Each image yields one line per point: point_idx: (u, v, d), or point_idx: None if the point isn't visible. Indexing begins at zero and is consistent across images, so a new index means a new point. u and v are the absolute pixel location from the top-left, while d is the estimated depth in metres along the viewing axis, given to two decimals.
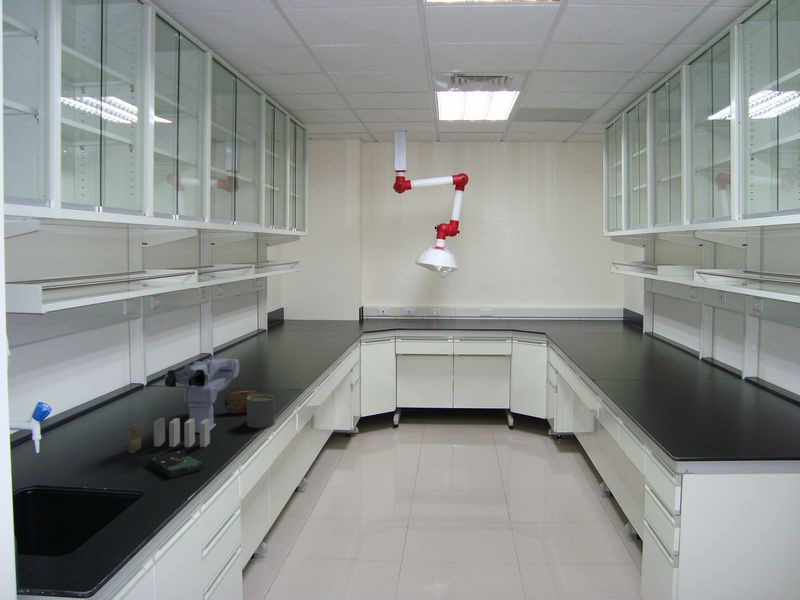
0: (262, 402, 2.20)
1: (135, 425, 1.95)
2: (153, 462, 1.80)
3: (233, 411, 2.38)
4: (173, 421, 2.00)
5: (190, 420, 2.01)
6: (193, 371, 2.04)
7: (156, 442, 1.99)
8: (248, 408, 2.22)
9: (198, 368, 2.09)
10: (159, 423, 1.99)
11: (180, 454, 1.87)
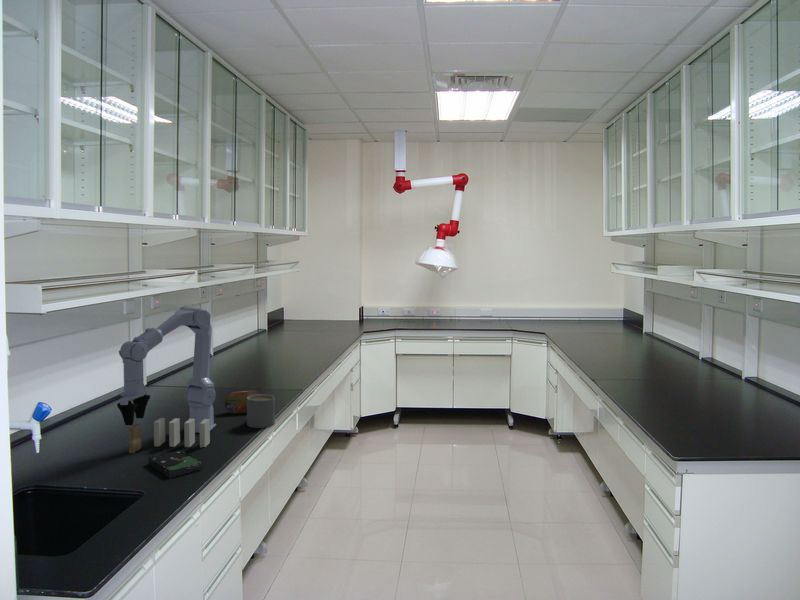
0: (262, 402, 2.20)
1: (135, 425, 1.95)
2: (153, 462, 1.80)
3: (233, 411, 2.38)
4: (173, 421, 2.00)
5: (190, 420, 2.01)
6: None
7: (156, 442, 1.99)
8: (248, 408, 2.22)
9: (124, 381, 1.91)
10: (159, 423, 1.99)
11: (180, 454, 1.87)
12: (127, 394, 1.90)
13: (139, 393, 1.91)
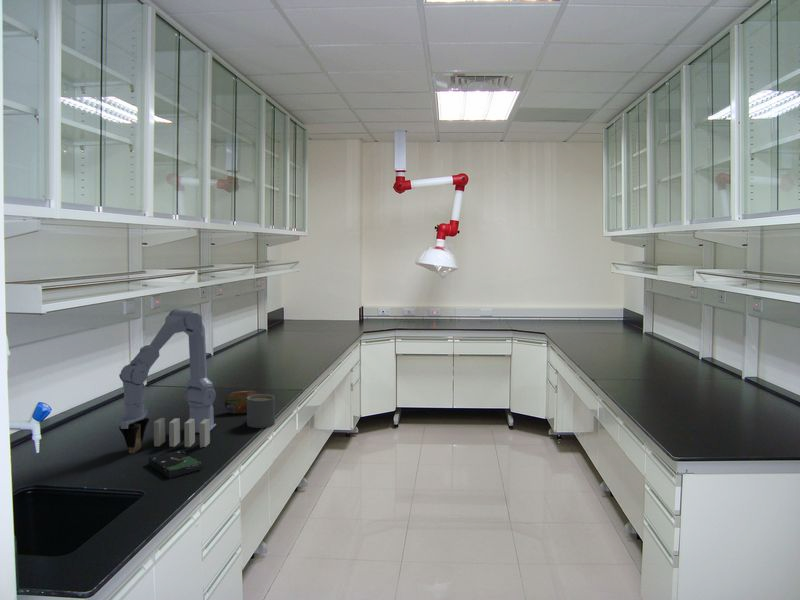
0: (262, 402, 2.20)
1: (135, 425, 1.95)
2: (153, 462, 1.80)
3: (233, 411, 2.38)
4: (173, 421, 2.00)
5: (190, 420, 2.01)
6: None
7: (156, 442, 1.99)
8: (248, 408, 2.22)
9: (124, 405, 1.91)
10: (159, 423, 1.99)
11: (180, 454, 1.87)
12: (127, 417, 1.91)
13: (139, 416, 1.92)
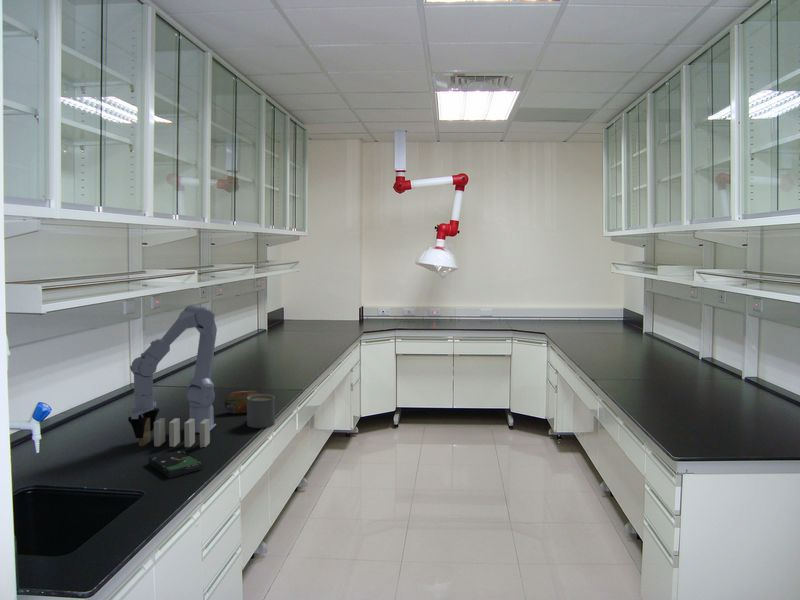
0: (262, 402, 2.20)
1: None
2: (153, 462, 1.81)
3: (233, 411, 2.38)
4: (173, 421, 2.00)
5: (190, 420, 2.01)
6: None
7: (156, 442, 1.99)
8: (248, 408, 2.22)
9: (134, 396, 1.98)
10: (159, 423, 1.99)
11: (180, 454, 1.87)
12: (137, 408, 1.98)
13: (149, 407, 1.99)
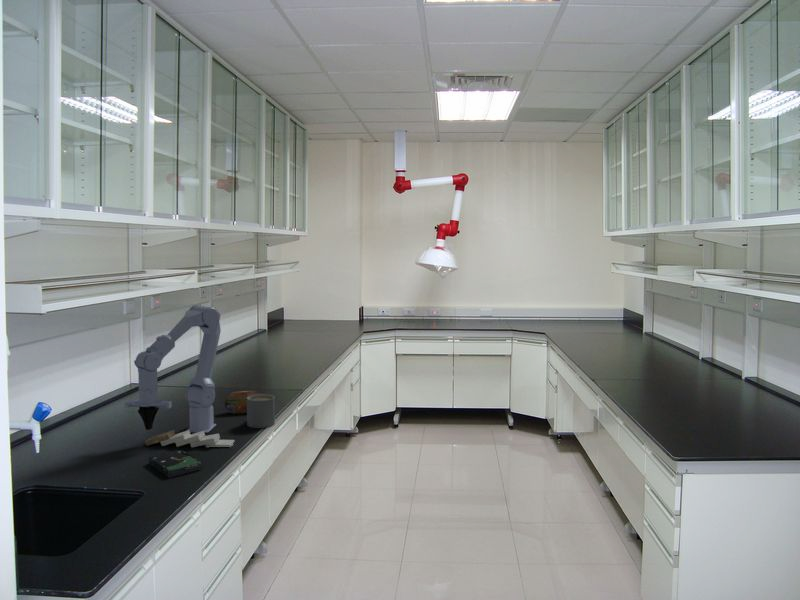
0: (262, 402, 2.20)
1: (172, 433, 2.02)
2: (153, 461, 1.81)
3: (233, 411, 2.38)
4: (200, 436, 2.00)
5: (217, 437, 2.01)
6: None
7: (164, 442, 1.99)
8: (248, 408, 2.22)
9: (151, 391, 1.98)
10: (183, 439, 1.99)
11: (181, 454, 1.87)
12: (155, 401, 1.99)
13: None
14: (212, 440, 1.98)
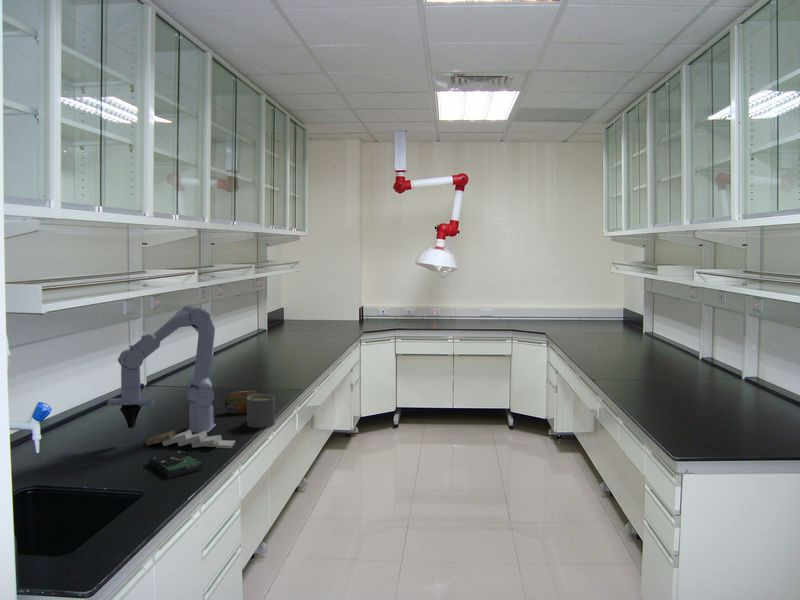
0: (262, 402, 2.20)
1: (173, 433, 2.02)
2: (153, 461, 1.81)
3: (233, 411, 2.38)
4: (201, 436, 1.99)
5: (218, 439, 1.99)
6: None
7: (166, 442, 1.99)
8: (248, 408, 2.22)
9: (133, 389, 1.98)
10: (185, 438, 1.99)
11: (181, 454, 1.87)
12: (138, 399, 1.99)
13: None
14: (212, 442, 1.97)
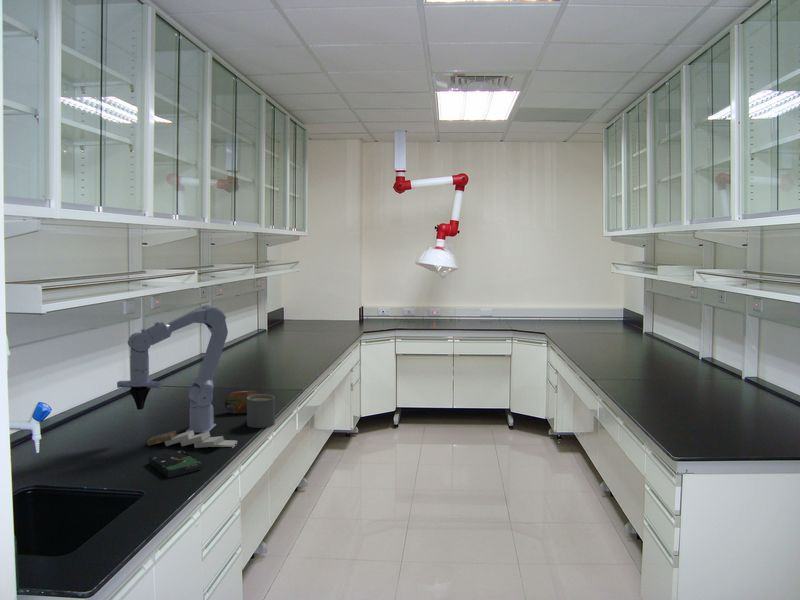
0: (262, 402, 2.20)
1: (174, 434, 2.02)
2: (153, 461, 1.81)
3: (233, 411, 2.38)
4: (204, 437, 1.99)
5: (219, 440, 1.98)
6: None
7: (168, 442, 1.99)
8: (248, 408, 2.22)
9: (142, 371, 2.01)
10: (188, 438, 2.00)
11: (181, 454, 1.87)
12: (147, 382, 2.03)
13: None
14: (212, 443, 1.95)
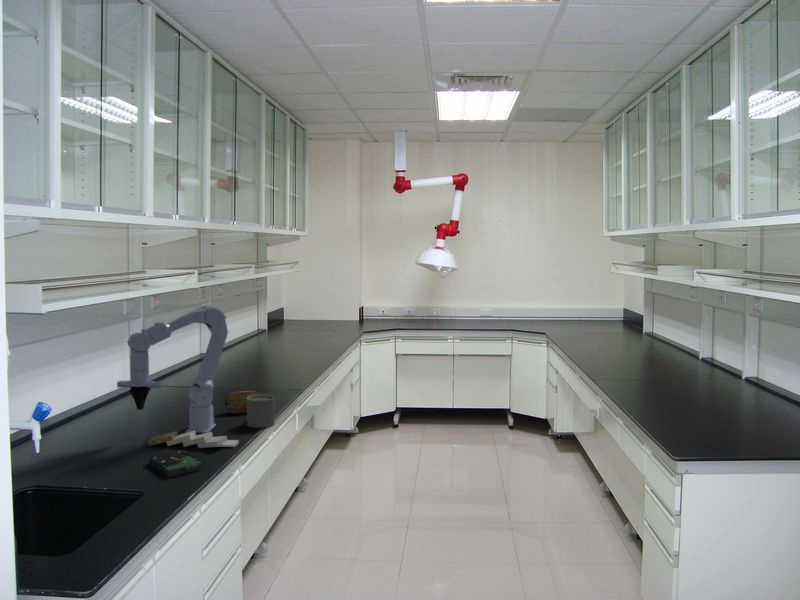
0: (262, 402, 2.20)
1: (175, 434, 2.02)
2: (153, 461, 1.81)
3: (233, 411, 2.38)
4: (206, 437, 1.99)
5: (223, 440, 1.98)
6: None
7: (170, 442, 1.99)
8: (248, 408, 2.22)
9: (142, 371, 2.01)
10: None
11: (181, 454, 1.87)
12: (147, 382, 2.03)
13: None
14: (215, 443, 1.95)
